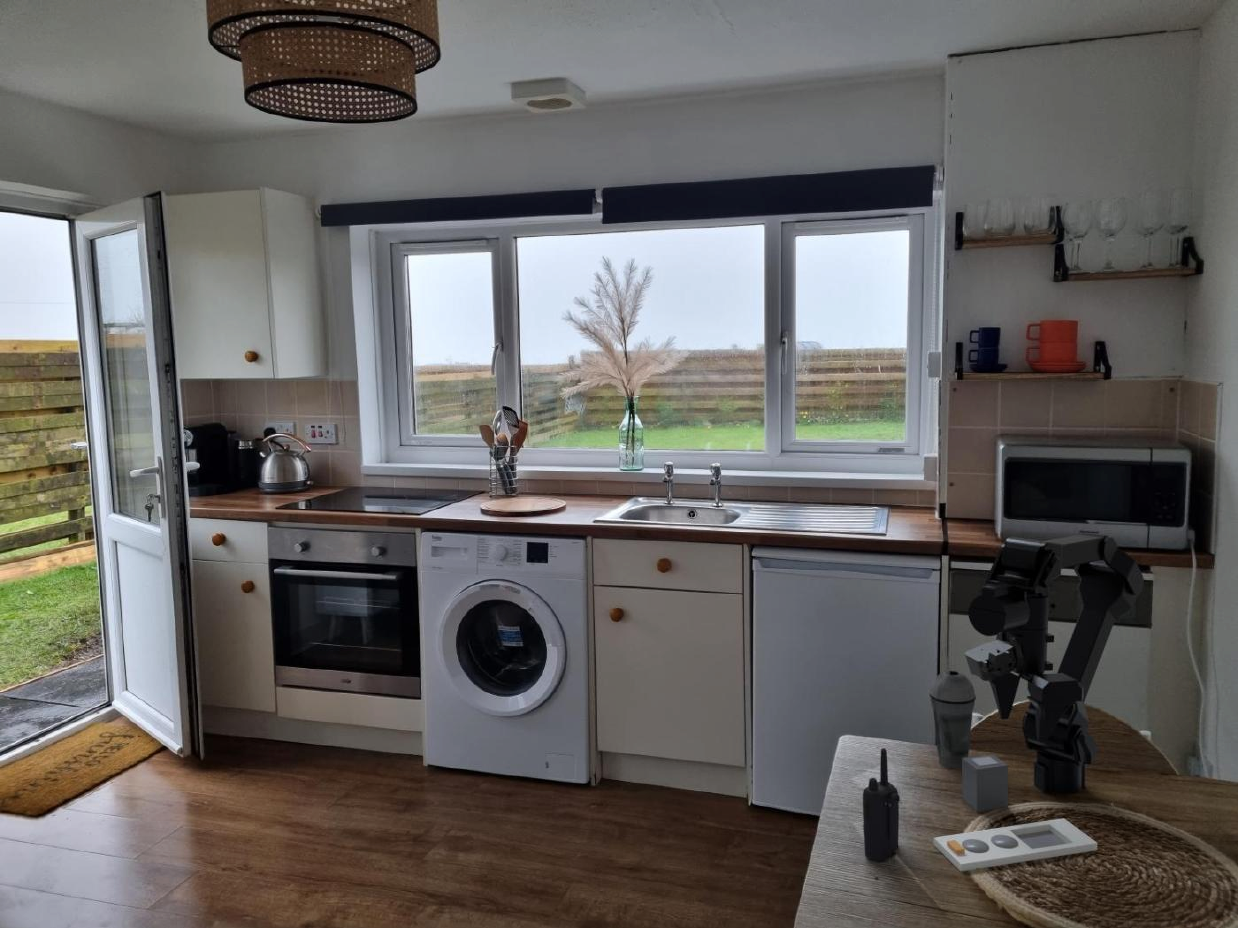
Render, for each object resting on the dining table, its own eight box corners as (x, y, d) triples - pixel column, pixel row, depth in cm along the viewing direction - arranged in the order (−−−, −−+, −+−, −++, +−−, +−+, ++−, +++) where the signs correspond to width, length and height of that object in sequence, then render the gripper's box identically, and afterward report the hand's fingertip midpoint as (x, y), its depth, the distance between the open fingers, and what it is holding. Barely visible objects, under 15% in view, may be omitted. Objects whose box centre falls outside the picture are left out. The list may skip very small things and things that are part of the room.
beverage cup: (979, 772, 152) (979, 653, 149) (932, 770, 153) (931, 652, 151) (972, 753, 159) (971, 639, 157) (927, 751, 160) (926, 639, 158)
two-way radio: (885, 843, 132) (883, 741, 130) (911, 856, 128) (909, 752, 126) (858, 856, 129) (856, 752, 127) (884, 870, 125) (882, 763, 123)
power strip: (1063, 831, 133) (1063, 814, 132) (1097, 856, 126) (1097, 838, 125) (933, 851, 129) (933, 833, 129) (960, 878, 122) (960, 859, 122)
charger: (992, 797, 142) (992, 753, 141) (1007, 810, 138) (1007, 764, 137) (962, 802, 141) (962, 757, 140) (976, 814, 137) (976, 768, 136)
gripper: (941, 612, 143) (938, 711, 144) (1012, 645, 125) (1008, 758, 126) (1008, 609, 145) (1005, 707, 146) (1088, 641, 126) (1083, 753, 128)
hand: (1022, 729), depth 136 cm, fingers open, 9 cm apart
